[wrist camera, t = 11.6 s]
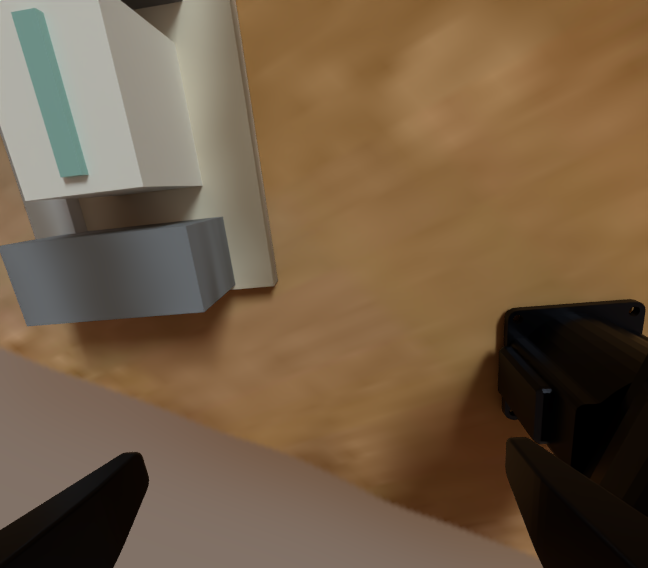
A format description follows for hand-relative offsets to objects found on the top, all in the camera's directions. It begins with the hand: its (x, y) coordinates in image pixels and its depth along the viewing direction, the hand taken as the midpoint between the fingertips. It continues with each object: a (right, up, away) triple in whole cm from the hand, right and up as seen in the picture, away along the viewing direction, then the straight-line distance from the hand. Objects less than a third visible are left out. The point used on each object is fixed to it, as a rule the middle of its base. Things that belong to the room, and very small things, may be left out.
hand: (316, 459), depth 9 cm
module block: (-8, +12, +8) cm, 16 cm away
